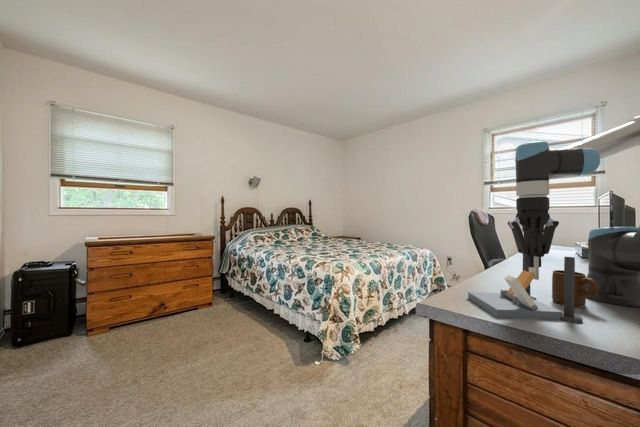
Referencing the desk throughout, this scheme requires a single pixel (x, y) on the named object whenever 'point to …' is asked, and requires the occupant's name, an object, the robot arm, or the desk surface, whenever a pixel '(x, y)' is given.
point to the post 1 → (527, 271)
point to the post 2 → (569, 291)
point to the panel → (512, 306)
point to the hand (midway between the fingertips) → (533, 278)
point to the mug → (579, 288)
